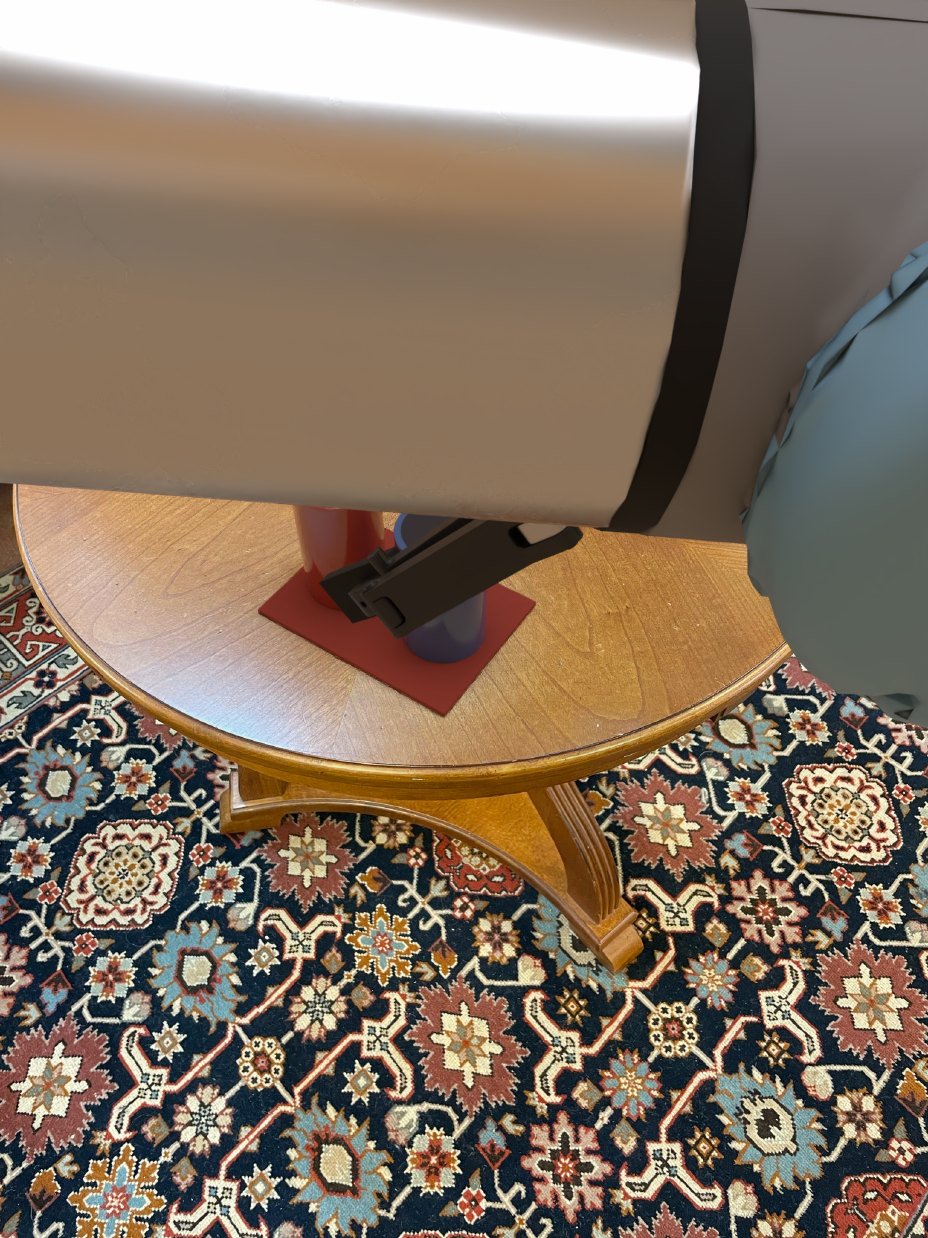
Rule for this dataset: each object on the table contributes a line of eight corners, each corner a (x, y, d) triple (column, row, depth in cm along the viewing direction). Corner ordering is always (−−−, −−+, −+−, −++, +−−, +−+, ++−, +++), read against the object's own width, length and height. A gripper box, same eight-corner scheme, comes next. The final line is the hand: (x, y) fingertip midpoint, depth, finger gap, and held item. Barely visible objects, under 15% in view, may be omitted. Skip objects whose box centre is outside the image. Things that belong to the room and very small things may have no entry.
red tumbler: (290, 587, 77) (268, 485, 69) (341, 539, 81) (326, 436, 72) (354, 622, 75) (340, 521, 66) (404, 571, 78) (397, 469, 70)
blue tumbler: (384, 638, 74) (374, 538, 65) (433, 586, 77) (429, 483, 69) (455, 677, 72) (454, 577, 63) (502, 620, 75) (507, 519, 67)
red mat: (258, 612, 76) (257, 609, 76) (358, 517, 83) (357, 514, 83) (444, 717, 70) (444, 714, 69) (536, 604, 77) (536, 601, 76)
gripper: (633, 690, 29) (315, 731, 46) (893, 308, 42) (572, 449, 59) (490, 497, 27) (212, 614, 44) (811, 157, 40) (502, 348, 57)
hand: (418, 519), depth 52 cm, fingers open, 13 cm apart
